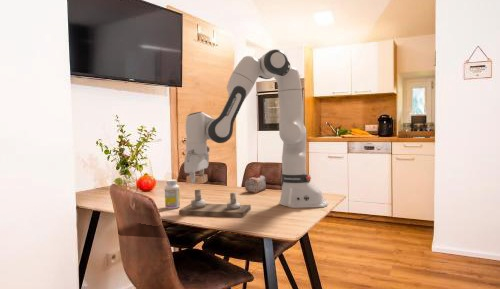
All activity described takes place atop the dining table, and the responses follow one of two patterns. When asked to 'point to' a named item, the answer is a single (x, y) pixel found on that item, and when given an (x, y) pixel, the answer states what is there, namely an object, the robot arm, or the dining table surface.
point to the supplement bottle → (172, 195)
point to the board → (215, 208)
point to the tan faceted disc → (198, 178)
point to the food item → (255, 184)
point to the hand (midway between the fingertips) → (197, 180)
